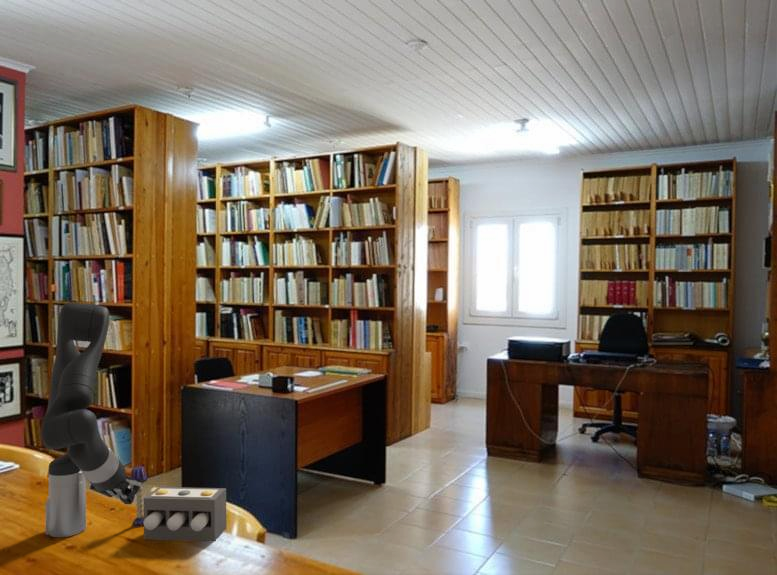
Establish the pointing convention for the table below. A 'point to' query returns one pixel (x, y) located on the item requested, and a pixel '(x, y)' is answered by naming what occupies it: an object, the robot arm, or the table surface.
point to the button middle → (177, 520)
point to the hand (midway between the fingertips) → (129, 500)
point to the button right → (200, 521)
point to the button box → (193, 504)
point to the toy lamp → (139, 494)
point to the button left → (154, 519)
